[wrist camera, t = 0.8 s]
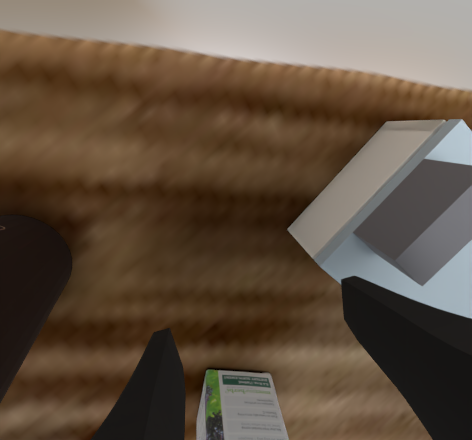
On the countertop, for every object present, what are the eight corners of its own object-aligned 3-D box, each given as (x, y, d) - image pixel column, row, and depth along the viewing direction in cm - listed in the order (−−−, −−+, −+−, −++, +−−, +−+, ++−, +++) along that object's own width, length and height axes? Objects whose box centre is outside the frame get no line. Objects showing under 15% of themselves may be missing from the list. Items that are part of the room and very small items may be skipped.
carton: (489, 241, 24) (560, 268, 20) (399, 325, 26) (445, 370, 21) (386, 121, 20) (444, 119, 16) (286, 229, 22) (312, 257, 17)
